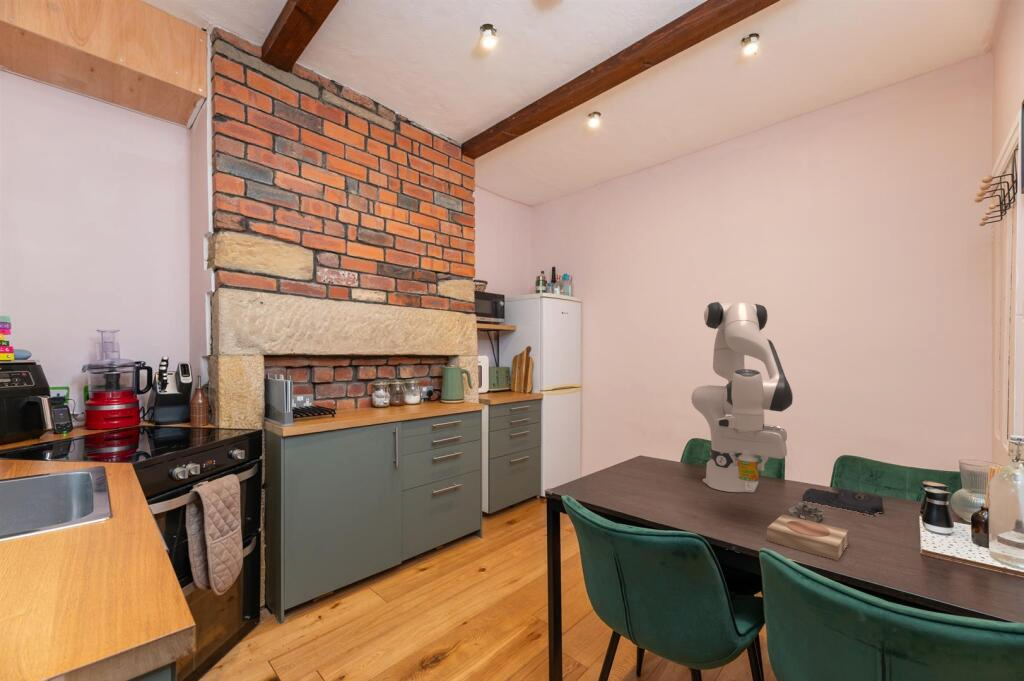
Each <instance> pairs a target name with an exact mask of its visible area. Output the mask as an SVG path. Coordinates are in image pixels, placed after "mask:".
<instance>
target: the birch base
mask: <svg viewBox="0 0 1024 681" xmlns="http://www.w3.org/2000/svg"><path fill="white" fill-rule="evenodd" d="M766 532H767V533H766V535H767V536H766V539H767V540H768V541H767V540H766V541H767V542H769V541H771V542H770V543H773V542H774V543H773V544H776V543H777V544H776V545H780V544H781V545H780V546H783V545H784V546H785V547H788V548H791V549H794V550H799V551H801V552H805V553H809V554H811V555H816V556H818V557H819V556H820V557H822V556H823V558H825V557H827V558H826V559H829V558H831V559H830V560H832V559H835V560H834V561H836V560H838V559H839V558H840V559H841V557H842V556H841V554H842V553H843V554H844V552H845V551H846V549H847V548H848V546H849V544H850V539H849V538H850V536H849V529H846V528H845V529H844V528H841V527H837V526H836V527H835V526H832V525H828V524H823V523H821V522H817V523H816V522H812V521H807V520H803V519H799V518H795V517H791V515H786V514H781V515H779V517H777V518H776V519H775V520H774V521H773V522H771V524H769V525H768V526H767V527H766ZM848 543H849V544H848ZM847 545H848V546H847ZM846 547H847V548H846ZM845 548H846V549H845ZM844 550H845V551H844ZM843 551H844V552H843ZM843 554H842V555H843ZM840 556H841V557H840ZM840 559H839V560H840ZM839 560H838V561H839Z"/></svg>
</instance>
